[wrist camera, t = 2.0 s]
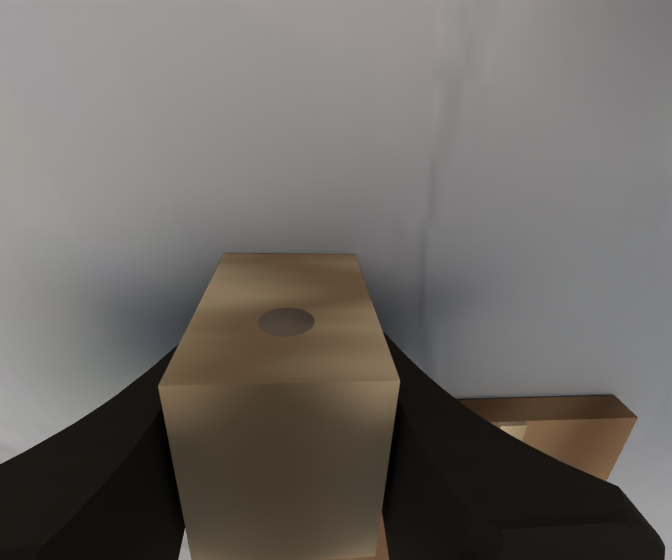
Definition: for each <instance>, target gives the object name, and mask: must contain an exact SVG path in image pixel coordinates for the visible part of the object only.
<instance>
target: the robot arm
mask: <svg viewBox="0 0 672 560" xmlns="http://www.w3.org/2000/svg"><path fill="white" fill-rule="evenodd" d="M383 334H384V337H385V340H386V342H387V345H388V348H389V351H390V354H391V356H392V359H393V362H394V365H395V368H396V370H397V373H398V376H399V379H400V385H399V392H398V399H397V406H396V413H395V420H394V427H393V434H392V442H391V449H390V456H389V463H388V470H387V477H386V484H385V491H384V498H383V505H382V516H383V522H384V529H385V535H386V542H387V548H388V555H389V560H664V559H665V545H664V544H663V542H662V540H661V538H660V536H659V535H658V534H657V532H656V531H655V530H654V529H653V528H652V526H651V525H650V524H649V523H648V521H647V520H646V519H645V518H644V517H643V515H642V514H641V513H640V512H639V511H638V509H637V508H636V507H635V506H634V505H633V503H632V502H631V501H630V500H629V499H628V497H627V496H626V495H625V494H624V493H623V492H622V490H621V489H620V488H619V487H618V486H616V485H613V484H611V483H609V482H607V481H604V480H602V479H600V478H597V477H595V476H593V475H591V474H588V473H586V472H584V471H582V470H579V469H577V468H575V467H572V466H570V465H568V464H566V463H563V462H561V461H559V460H557V459H555V458H553V457H551V456H549V455H547V454H545V453H543V452H541V451H539V450H537V449H536V448H534V447H532V446H530V445H528V444H526V443H524V442H522V441H521V440H519V439H517V438H515V437H513V436H512V435H510V434H508V433H507V432H505V431H503V430H502V429H500V428H498V427H497V426H495V425H493V424H492V423H490V422H488V421H487V420H485V419H484V418H482V417H481V416H479V415H478V414H476V413H475V412H473V411H472V410H470V409H469V408H468V407H466V406H465V405H463V404H462V403H461V402H459V401H458V400H457V399H455V398H454V397H452V396H451V395H450V394H449V393H447V392H446V391H445V390H444V389H442V388H441V387H440V386H439V385H438V384H436V383H435V382H434V381H433V380H432V379H431V378H429V377H428V376H427V375H426V374H425V373H424V372H423V371H422V370H421V369H419V368H418V367H417V366H416V365H415V364H414V363H413V362H412V361H411V360H410V359H409V358H408V357H407V356H406V355H405V354H404V353H403V352H402V351H401V350H400V349H399V348H398V347H397V346H396V345H395V343H394V342H393V341H392V340H391V339H390V338H389V337H388V336H387V335H386V334H385V333H384V332H383ZM178 345H179V344H178ZM178 345H177V346H176V347H175V348H174V349H172V350H171V351H170V352H169V353H168V354H167V355H166V356H164V357H163V358H162V359H161V360H160V361H159V362H157V363H156V364H155V365H154V366H153V367H152V368H150V369H149V370H148V371H147V372H146V373H144V374H143V375H142V376H140V377H139V378H138V379H137V380H135V381H134V382H133V383H131V384H130V385H129V386H128V387H126V388H125V389H124V390H122V391H121V392H120V393H119V394H117V395H116V396H114V397H113V398H112V399H110V400H109V401H107V402H106V403H104V404H103V405H102V406H100V407H99V408H97V409H96V410H94V411H93V412H91V413H89V414H88V415H86V416H85V417H83V418H82V419H80V420H79V421H77V422H75V423H74V424H72V425H71V426H69V427H67V428H65V429H64V430H62V431H60V432H58V433H57V434H55V435H53V436H51V437H50V438H48V439H46V440H44V441H43V442H41V443H39V444H37V445H36V446H34V447H32V448H30V449H29V450H27V451H25V452H23V453H21V454H19V455H17V456H15V457H13V458H12V459H10V460H8V461H6V462H4V463H2V464H0V560H178V558H179V553H180V548H181V544H182V539H183V535H184V530H185V523H184V518H183V513H182V507H181V502H180V497H179V492H178V487H177V482H176V476H175V471H174V466H173V461H172V456H171V451H170V445H169V440H168V435H167V430H166V425H165V420H164V414H163V409H162V404H161V399H160V394H159V388H158V385H159V383H160V381H161V379H162V377H163V375H164V373H165V371H166V369H167V367H168V365H169V363H170V361H171V359H172V357H173V355H174V353H175V351H176V349H177V347H178Z"/></svg>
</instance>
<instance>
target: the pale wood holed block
mask: <svg viewBox="0 0 672 560" xmlns="http://www.w3.org/2000/svg"><path fill="white" fill-rule="evenodd" d="M399 385H400V379H399V376H398V373H397V370H396V368H395V365H394V362H393V359H392V356H391V354H390V351H389V348H388V345H387V342H386V340H385V337H384V334H383V331H382V328H381V326H380V323H379V320H378V317H377V314H376V312H375V309H374V306H373V303H372V300H371V298H370V295H369V292H368V289H367V286H366V284H365V281H364V278H363V275H362V272H361V270H360V267H359V264H358V261H357V258H356V256H355V254H264V253H224V255H223V257H222V259H221V261H220V263H219V265H218V267H217V269H216V271H215V273H214V275H213V277H212V279H211V281H210V283H209V285H208V287H207V289H206V291H205V293H204V295H203V297H202V299H201V301H200V303H199V305H198V307H197V309H196V311H195V313H194V315H193V317H192V319H191V321H190V323H189V325H188V327H187V329H186V331H185V333H184V335H183V337H182V339H181V341H180V343H179V345H178V347H177V349H176V351H175V353H174V355H173V357H172V359H171V361H170V363H169V365H168V367H167V369H166V371H165V373H164V375H163V377H162V379H161V381H160V383H159V385H158V388H159V394H160V399H161V404H162V409H163V414H164V420H165V425H166V430H167V435H168V440H169V445H170V451H171V456H172V461H173V466H174V471H175V476H176V482H177V487H178V492H179V497H180V502H181V507H182V513H183V518H184V523H185V528H186V533H187V538H188V544H189V549H190V554H191V559H192V560H327V559H343V558H358V557H373V556H375V554H376V547H377V540H378V533H379V526H380V519H381V512H382V505H383V498H384V491H385V484H386V477H387V470H388V463H389V456H390V449H391V442H392V434H393V427H394V420H395V413H396V406H397V399H398V392H399Z"/></svg>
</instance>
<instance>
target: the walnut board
mask: <svg viewBox="0 0 672 560" xmlns="http://www.w3.org/2000/svg"><path fill="white" fill-rule="evenodd" d="M458 401H459V402H461V403H462V404H463V405H465V406H466V407H468V408H469V409H470V410H472V411H473V412H475V413H476V414H478V415H479V416H481V417H482V418H484V419H485V420H487V421H488V422H490V423H492V424H493V425H495V426H497V427H498V428H500V429H502V430H503V431H505V432H507V433H508V434H510V435H512V436H513V437H515V438H517V439H519V440H521V441H522V442H524V443H526V444H528V445H530V446H532V447H534V448H536V449H537V450H539V451H541V452H543V453H545V454H547V455H549V456H551V457H553V458H555V459H557V460H559V461H561V462H563V463H566V464H568V465H570V466H572V467H575V468H577V469H579V470H582V471H584V472H586V473H588V474H591V475H593V476H595V477H597V478H600V479H602V480H604V481H607V479H608V477H609V475H610V473H611V471H612V469H613V467H614V465H615V462H616V460H617V458H618V456H619V454H620V452H621V450H622V448H623V446H624V444H625V442H626V440H627V438H628V436H629V434H630V432H631V430H632V428H633V426H634V424H635V422H636V420H637V418H638V417H637V416H636V415H635V414H634V413H632V412H631V411H630V410H629V409H628V408H627V407H626V406H625V405H624V404H623V403H622V402H621V401H620V400H619V399H618V398H616V397H615V396H614V395H610V396H573V397H537V398H500V399H464V400H458ZM327 560H389V555H388V548H387V542H386V535H385V529H384V522H383V516H382V512H381V519H380V526H379V533H378V540H377V547H376V554H375V556H373V557H358V558H343V559H327Z"/></svg>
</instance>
